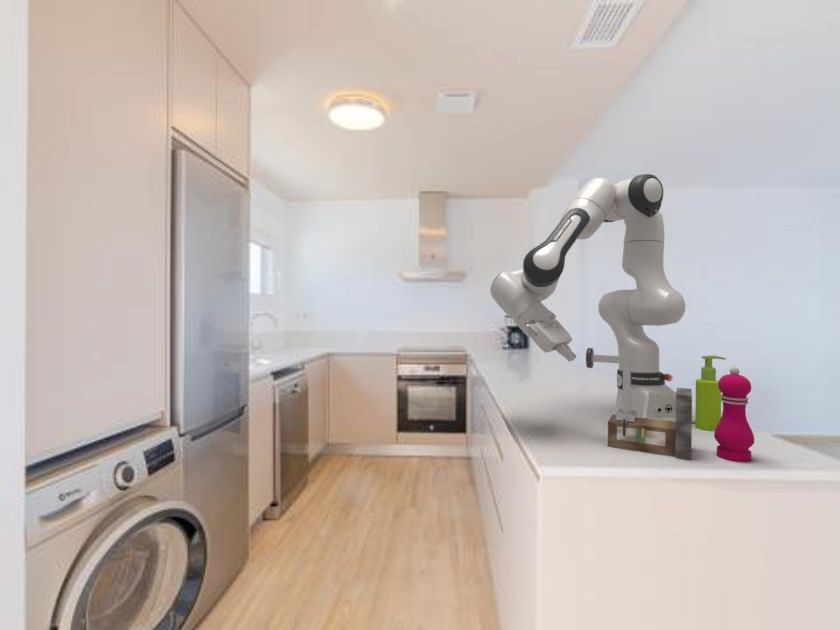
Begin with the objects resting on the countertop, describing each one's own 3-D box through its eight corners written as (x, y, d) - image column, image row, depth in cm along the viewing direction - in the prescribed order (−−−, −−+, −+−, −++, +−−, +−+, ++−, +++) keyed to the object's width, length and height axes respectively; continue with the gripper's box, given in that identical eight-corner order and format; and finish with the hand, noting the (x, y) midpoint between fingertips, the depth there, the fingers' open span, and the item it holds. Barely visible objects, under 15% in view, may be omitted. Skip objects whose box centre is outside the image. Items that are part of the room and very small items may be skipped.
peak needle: (641, 437, 100) (641, 428, 100) (641, 436, 100) (641, 428, 100) (644, 437, 100) (644, 428, 100) (644, 437, 100) (644, 428, 100)
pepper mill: (761, 463, 93) (762, 369, 92) (723, 461, 94) (724, 368, 94) (743, 452, 100) (744, 365, 100) (708, 450, 101) (709, 364, 101)
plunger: (583, 430, 107) (584, 349, 106) (589, 423, 113) (590, 347, 113) (633, 437, 101) (634, 351, 101) (636, 429, 108) (637, 349, 107)
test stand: (607, 447, 104) (607, 388, 103) (613, 436, 112) (613, 382, 112) (691, 460, 95) (691, 395, 95) (690, 447, 103) (691, 388, 103)
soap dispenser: (729, 431, 117) (730, 357, 117) (701, 430, 118) (701, 356, 118) (718, 426, 123) (719, 355, 123) (691, 424, 124) (692, 354, 124)
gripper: (532, 312, 107) (573, 354, 102) (553, 312, 125) (589, 348, 120) (514, 330, 110) (554, 372, 105) (538, 327, 127) (573, 363, 122)
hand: (573, 359), depth 112 cm, fingers closed
